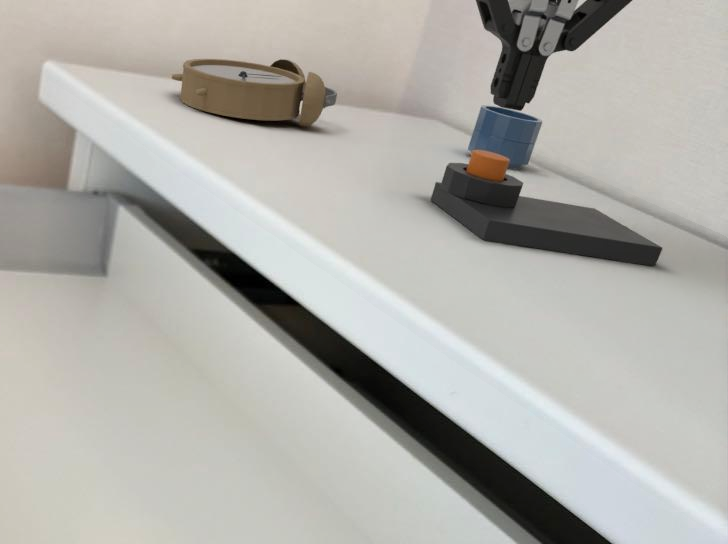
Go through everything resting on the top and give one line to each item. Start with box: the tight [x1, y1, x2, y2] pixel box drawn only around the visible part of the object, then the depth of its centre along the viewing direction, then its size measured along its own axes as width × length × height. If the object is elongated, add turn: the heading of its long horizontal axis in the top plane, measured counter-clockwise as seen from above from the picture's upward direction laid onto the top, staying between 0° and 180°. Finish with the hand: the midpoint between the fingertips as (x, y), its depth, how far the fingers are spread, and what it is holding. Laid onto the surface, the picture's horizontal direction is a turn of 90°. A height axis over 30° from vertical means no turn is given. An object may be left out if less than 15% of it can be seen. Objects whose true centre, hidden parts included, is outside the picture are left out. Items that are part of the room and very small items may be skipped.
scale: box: [430, 162, 663, 267], centre depth 81 cm, size 14×10×3 cm
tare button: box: [466, 150, 510, 181], centre depth 81 cm, size 3×3×2 cm
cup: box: [467, 104, 543, 170], centre depth 105 cm, size 6×6×4 cm
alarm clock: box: [171, 58, 338, 127], centre depth 102 cm, size 11×5×15 cm
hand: (507, 107), depth 79 cm, fingers closed
